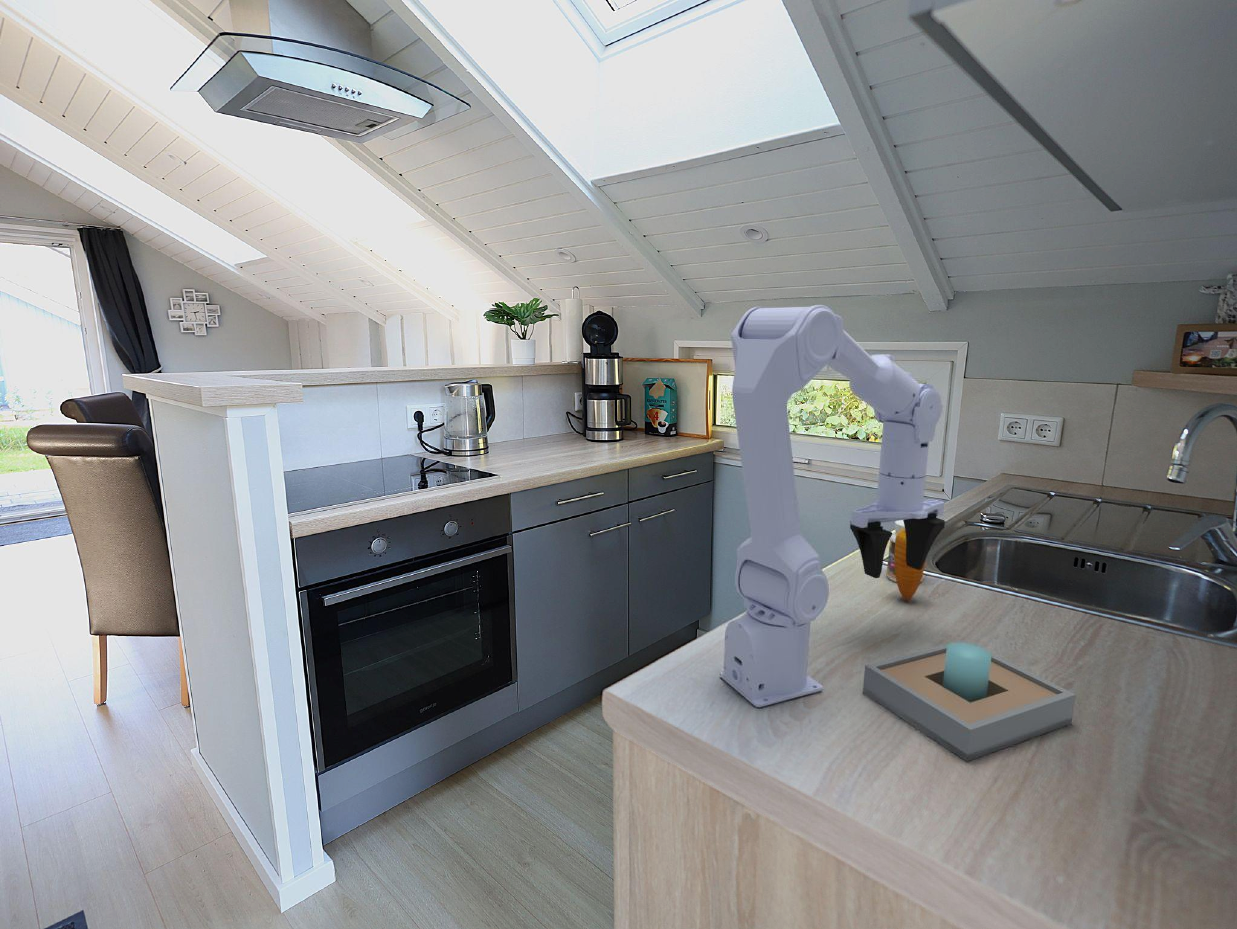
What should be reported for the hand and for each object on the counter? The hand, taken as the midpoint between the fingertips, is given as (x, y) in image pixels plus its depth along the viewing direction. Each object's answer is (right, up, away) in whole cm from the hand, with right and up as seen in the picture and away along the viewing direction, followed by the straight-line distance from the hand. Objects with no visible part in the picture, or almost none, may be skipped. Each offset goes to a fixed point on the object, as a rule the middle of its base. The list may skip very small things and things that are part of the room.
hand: (893, 571), depth 92 cm
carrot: (+8, -7, +14) cm, 17 cm away
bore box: (+1, -13, -16) cm, 20 cm away
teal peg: (+1, -12, -16) cm, 20 cm away
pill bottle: (+11, -5, +23) cm, 26 cm away
